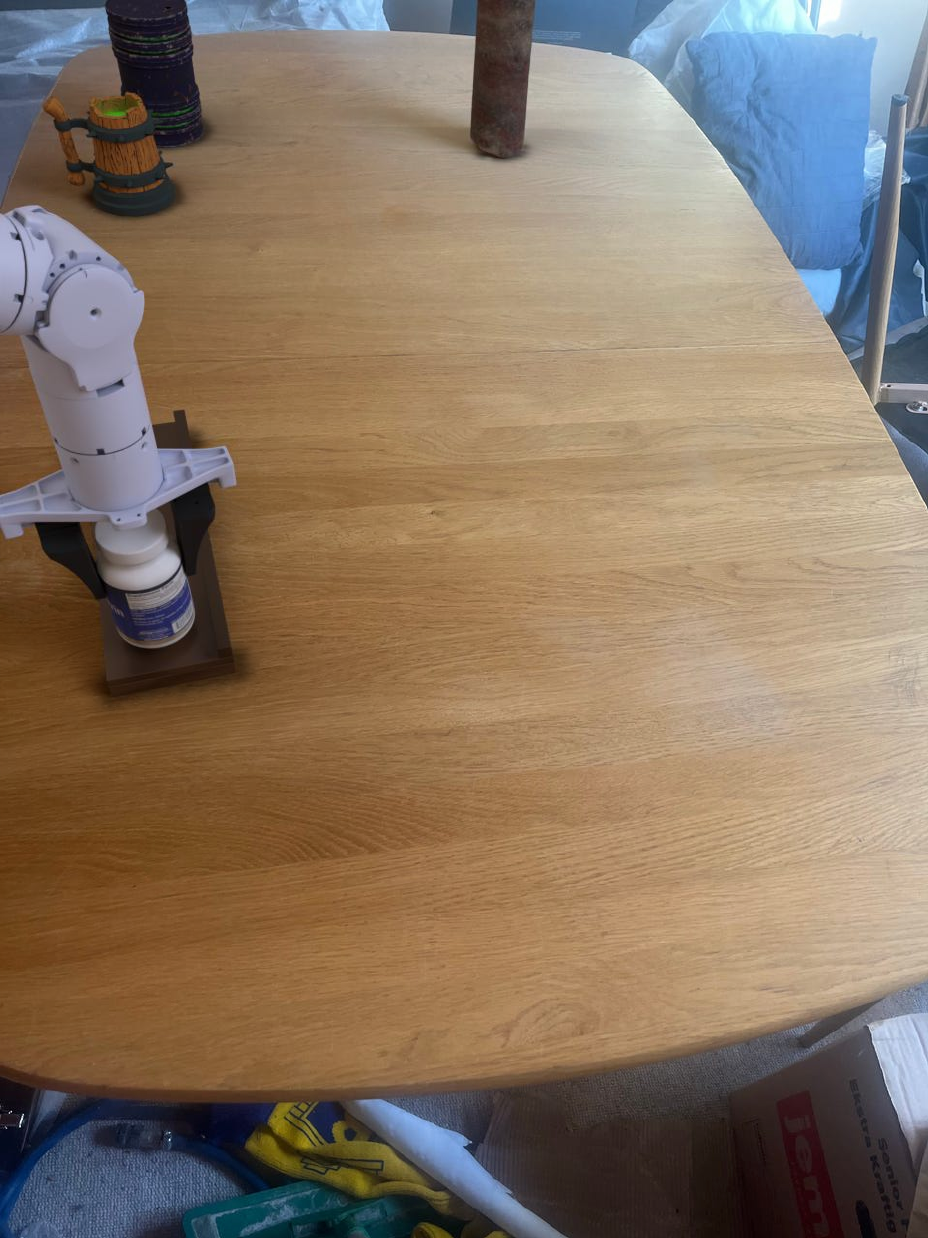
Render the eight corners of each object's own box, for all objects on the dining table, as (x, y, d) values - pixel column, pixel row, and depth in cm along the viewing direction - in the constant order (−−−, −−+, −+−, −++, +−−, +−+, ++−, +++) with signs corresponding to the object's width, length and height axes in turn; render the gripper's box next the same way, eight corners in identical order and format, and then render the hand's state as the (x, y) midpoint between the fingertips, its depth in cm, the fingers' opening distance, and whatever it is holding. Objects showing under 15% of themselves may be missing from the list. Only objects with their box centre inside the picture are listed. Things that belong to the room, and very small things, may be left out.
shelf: (112, 697, 70) (102, 671, 68) (88, 450, 87) (79, 422, 84) (236, 672, 72) (231, 646, 70) (189, 436, 89) (184, 409, 87)
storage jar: (114, 139, 125) (88, 11, 114) (147, 109, 131) (125, -16, 120) (187, 152, 124) (168, 24, 113) (216, 121, 130) (200, -4, 119)
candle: (459, 150, 130) (469, -20, 115) (479, 129, 134) (492, -37, 119) (511, 163, 128) (529, -7, 113) (530, 142, 133) (550, -24, 118)
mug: (176, 174, 120) (160, 75, 112) (180, 215, 114) (163, 114, 105) (67, 178, 118) (41, 78, 109) (64, 220, 112) (37, 117, 103)
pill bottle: (110, 603, 72) (78, 507, 65) (186, 584, 74) (164, 488, 66) (125, 661, 69) (93, 566, 61) (204, 639, 71) (183, 545, 63)
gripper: (-21, 496, 53) (45, 648, 63) (238, 439, 57) (260, 589, 68) (-36, 418, 57) (28, 574, 67) (208, 371, 61) (233, 523, 72)
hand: (143, 577), depth 68 cm, fingers closed on pill bottle, 5 cm apart
